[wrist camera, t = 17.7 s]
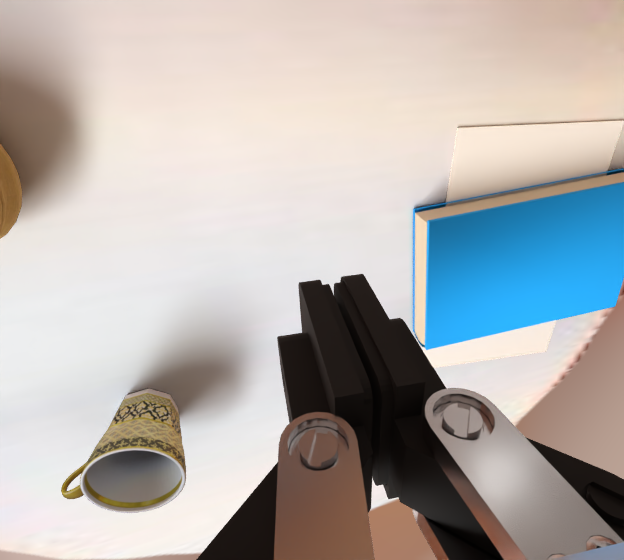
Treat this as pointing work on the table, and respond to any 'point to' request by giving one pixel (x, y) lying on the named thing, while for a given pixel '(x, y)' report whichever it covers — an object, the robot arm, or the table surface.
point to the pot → (8, 193)
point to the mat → (518, 174)
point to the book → (517, 259)
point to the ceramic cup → (135, 457)
